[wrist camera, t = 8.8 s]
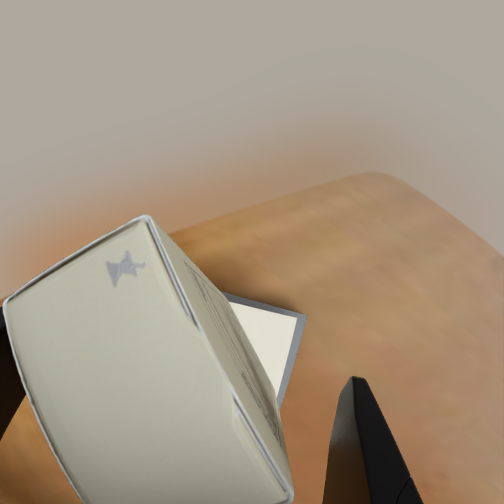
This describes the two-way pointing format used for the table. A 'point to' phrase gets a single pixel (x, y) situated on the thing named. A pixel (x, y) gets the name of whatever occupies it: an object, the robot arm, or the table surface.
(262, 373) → the skincare box
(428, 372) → the table surface
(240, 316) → the tower top
